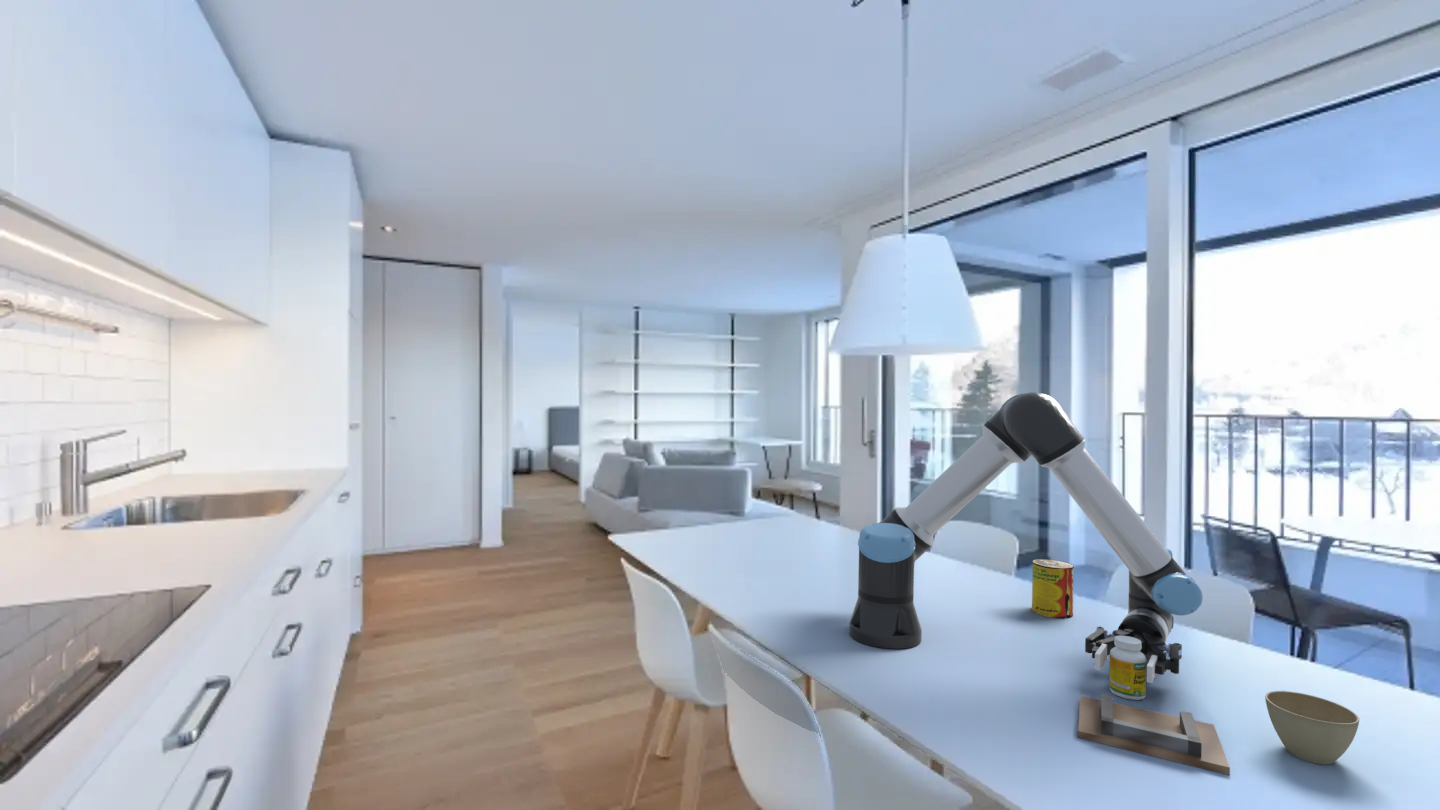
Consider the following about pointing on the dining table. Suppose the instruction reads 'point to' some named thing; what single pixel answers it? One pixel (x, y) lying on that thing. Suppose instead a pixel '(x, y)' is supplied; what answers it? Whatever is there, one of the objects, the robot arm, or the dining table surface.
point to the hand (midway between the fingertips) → (1122, 668)
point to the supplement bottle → (1127, 668)
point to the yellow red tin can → (1052, 588)
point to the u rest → (1152, 733)
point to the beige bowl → (1311, 725)
